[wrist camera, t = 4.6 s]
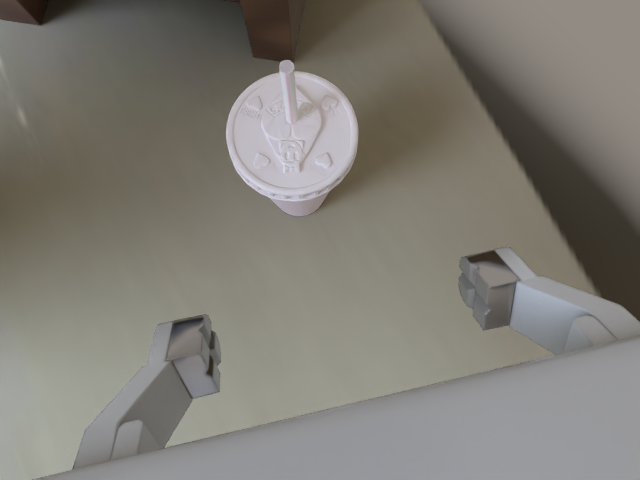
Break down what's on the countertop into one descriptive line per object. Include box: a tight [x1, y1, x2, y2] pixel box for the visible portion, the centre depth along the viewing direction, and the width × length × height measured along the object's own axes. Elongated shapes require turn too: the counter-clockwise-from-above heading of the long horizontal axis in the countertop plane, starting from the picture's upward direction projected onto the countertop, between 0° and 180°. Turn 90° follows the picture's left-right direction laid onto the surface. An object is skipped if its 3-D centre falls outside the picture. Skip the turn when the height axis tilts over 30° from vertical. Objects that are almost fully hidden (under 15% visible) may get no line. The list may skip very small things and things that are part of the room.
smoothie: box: [226, 60, 358, 216], centre depth 23 cm, size 6×6×14 cm
